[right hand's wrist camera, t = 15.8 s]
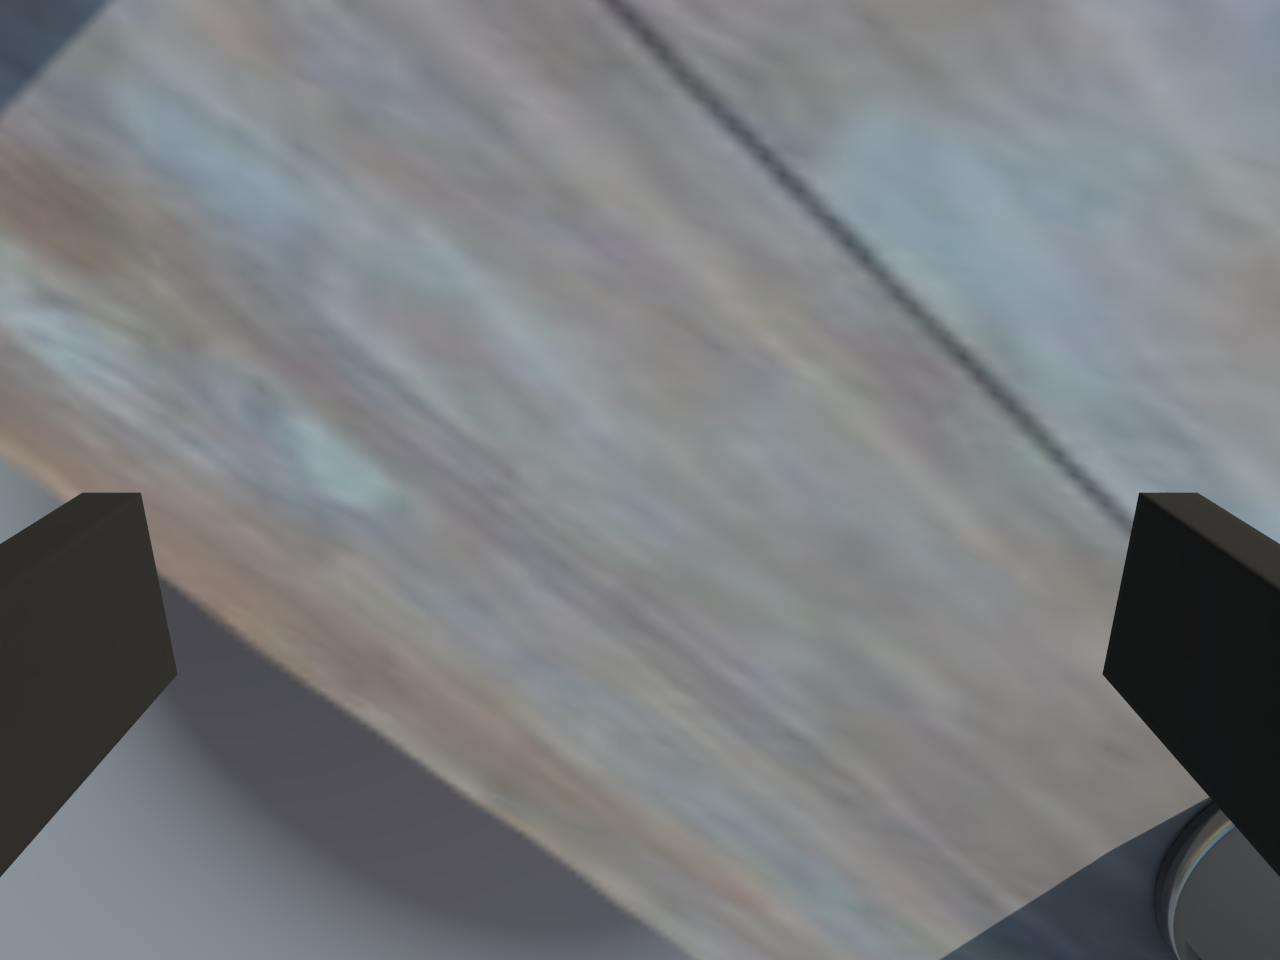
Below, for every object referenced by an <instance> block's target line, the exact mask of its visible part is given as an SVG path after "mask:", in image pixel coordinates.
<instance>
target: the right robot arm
mask: <svg viewBox="0 0 1280 960" xmlns="http://www.w3.org/2000/svg"><path fill="white" fill-rule="evenodd" d="M176 675H177V670H176V665H175V660H174V655H173V650H172V645H171V640H170V635H169V630H168V626H167V620H166V616H165V611H164V606H163V601H162V596H161V591H160V586H159V581H158V576H157V571H156V566H155V561H154V556H153V551H152V546H151V541H150V536H149V531H148V526H147V521H146V516H145V511H144V506H143V501H142V496H141V493H81V494H80V495H78V496H77V497H75V498H73V499H72V500H70V501H69V502H67V503H65V504H64V505H62V506H61V507H59V508H57V509H56V510H54V511H53V512H51V513H49V514H48V515H46V516H45V517H43V518H41V519H40V520H38V521H37V522H35V523H33V524H32V525H30V526H29V527H27V528H25V529H24V530H22V531H21V532H19V533H17V534H16V535H14V536H13V537H11V538H9V539H8V540H6V541H5V542H3V543H1V544H0V877H1V876H2V875H3V873H4V872H5V871H6V870H7V869H8V868H9V867H10V865H11V864H12V863H13V862H14V861H15V860H16V859H17V857H18V856H19V855H20V854H21V853H22V852H23V851H24V849H25V848H26V847H27V846H28V845H29V844H30V843H31V841H32V840H33V839H34V838H35V837H36V836H37V834H38V833H39V832H40V831H41V830H42V829H43V828H44V826H45V825H46V824H47V823H48V822H49V821H50V820H51V818H52V817H53V816H54V815H55V814H56V813H57V812H58V810H59V809H60V808H61V807H62V806H63V805H64V804H65V802H66V801H67V800H68V799H69V798H70V797H71V795H72V794H73V793H74V792H75V791H76V790H77V789H78V788H79V786H80V785H81V784H82V783H83V782H84V781H85V780H86V778H87V777H88V776H89V775H90V774H91V773H92V771H93V770H94V769H95V768H96V767H97V766H98V765H99V763H100V762H101V761H102V760H103V759H104V758H105V757H106V755H107V754H108V753H109V752H110V751H111V750H112V749H113V747H114V746H115V745H116V744H117V743H118V742H119V741H120V739H121V738H122V737H123V736H124V735H125V734H126V733H127V731H128V730H129V729H130V728H131V727H132V726H133V725H134V723H135V722H136V721H137V720H138V719H139V718H140V717H141V715H142V714H143V713H144V712H145V711H146V710H147V709H148V707H149V706H150V705H151V704H152V703H153V702H154V700H155V699H156V698H157V697H158V696H159V695H160V694H161V692H162V691H163V690H164V689H165V688H166V687H167V686H168V684H169V683H170V682H171V681H172V680H173V679H174V678H175V676H176ZM1103 675H1104V676H1105V678H1106V679H1107V680H1108V681H1109V682H1110V683H1111V684H1112V686H1113V687H1114V688H1115V689H1116V690H1117V691H1118V692H1119V694H1120V695H1121V696H1122V697H1123V698H1124V699H1125V700H1126V702H1127V703H1128V704H1129V705H1130V706H1131V707H1132V709H1133V710H1134V711H1135V712H1136V713H1137V714H1138V715H1139V717H1140V718H1141V719H1142V720H1143V721H1144V722H1145V723H1146V725H1147V726H1148V727H1149V728H1150V729H1151V730H1152V731H1153V733H1154V734H1155V735H1156V736H1157V737H1158V738H1159V739H1160V741H1161V742H1162V743H1163V744H1164V745H1165V746H1166V747H1167V749H1168V750H1169V751H1170V752H1171V753H1172V754H1173V755H1174V757H1175V758H1176V759H1177V760H1178V761H1179V762H1180V763H1181V765H1182V766H1183V767H1184V768H1185V769H1186V770H1187V772H1188V773H1189V774H1190V775H1191V776H1192V777H1193V778H1194V780H1195V781H1196V782H1197V783H1198V784H1199V785H1200V786H1201V788H1202V789H1203V790H1204V791H1205V792H1206V793H1207V794H1208V796H1209V797H1210V798H1211V799H1212V800H1213V801H1214V803H1213V804H1212V805H1210V806H1209V807H1208V808H1206V809H1205V810H1204V811H1203V812H1202V813H1201V814H1200V815H1199V816H1197V817H1196V818H1195V819H1194V820H1193V821H1192V822H1191V823H1190V824H1189V825H1188V827H1187V828H1186V829H1185V830H1184V831H1183V832H1182V834H1181V835H1180V836H1179V837H1178V839H1177V840H1176V841H1175V843H1174V845H1173V846H1172V848H1171V849H1170V851H1169V853H1168V855H1167V856H1166V858H1165V860H1164V862H1163V865H1162V867H1161V870H1160V873H1159V876H1158V880H1157V884H1156V890H1155V913H1156V918H1157V922H1158V926H1159V928H1160V931H1161V933H1162V935H1163V937H1164V939H1165V941H1166V942H1167V944H1168V945H1169V947H1170V949H1171V950H1172V952H1173V953H1174V955H1175V956H1176V958H1177V959H1178V960H1280V544H1279V543H1277V542H1275V541H1274V540H1272V539H1271V538H1269V537H1267V536H1266V535H1264V534H1263V533H1261V532H1259V531H1258V530H1256V529H1255V528H1253V527H1251V526H1250V525H1248V524H1247V523H1245V522H1243V521H1242V520H1240V519H1239V518H1237V517H1235V516H1234V515H1232V514H1231V513H1229V512H1227V511H1226V510H1224V509H1223V508H1221V507H1219V506H1218V505H1216V504H1215V503H1213V502H1211V501H1210V500H1208V499H1207V498H1205V497H1203V496H1202V495H1200V494H1199V493H1139V496H1138V501H1137V506H1136V511H1135V516H1134V521H1133V526H1132V531H1131V536H1130V541H1129V546H1128V551H1127V556H1126V561H1125V566H1124V571H1123V576H1122V581H1121V586H1120V591H1119V596H1118V601H1117V606H1116V610H1115V615H1114V620H1113V625H1112V630H1111V635H1110V640H1109V645H1108V650H1107V655H1106V660H1105V665H1104V670H1103Z"/></svg>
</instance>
